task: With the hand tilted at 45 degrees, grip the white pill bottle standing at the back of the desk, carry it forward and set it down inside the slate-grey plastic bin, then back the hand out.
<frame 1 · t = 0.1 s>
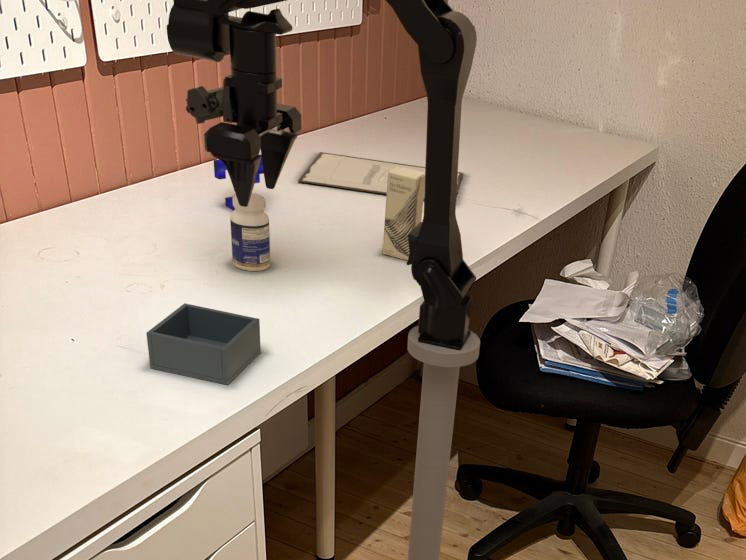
hand: (257, 197, 132), 13 cm above the table, tool pointing down, fingers open, 9 cm apart
pill bottle: (251, 266, 147), on the table
figurine: (242, 209, 166), on the table
picture frame: (384, 178, 189), on the table
box: (401, 255, 158), on the table
bin: (207, 360, 121), on the table
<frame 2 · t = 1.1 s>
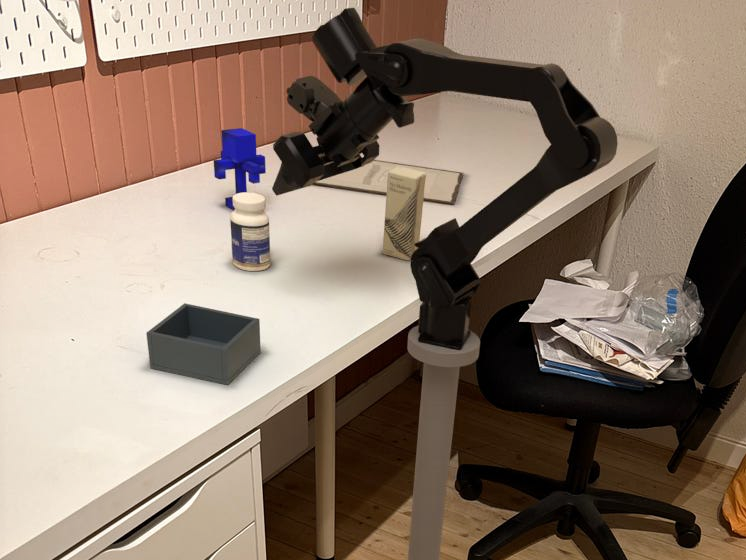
hand: (293, 185, 136), 13 cm above the table, tool tilted 45°, fingers open, 9 cm apart
nothing on the table moved.
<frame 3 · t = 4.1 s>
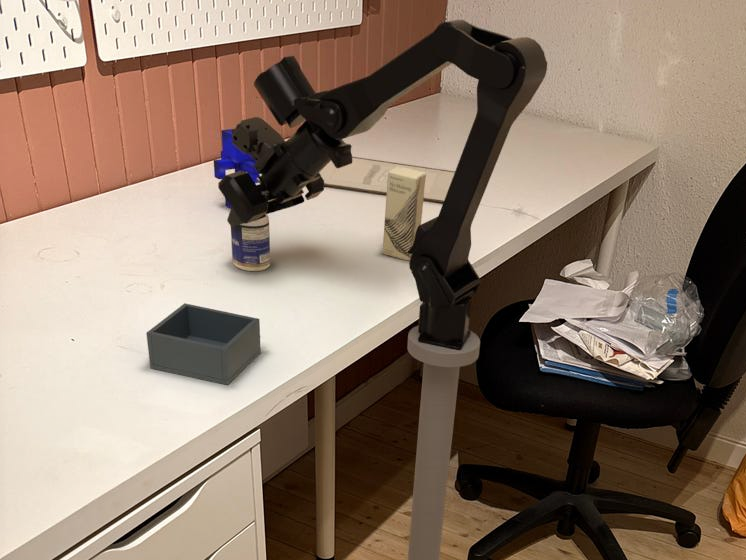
hand: (242, 218, 143), 7 cm above the table, tool tilted 45°, fingers closed on pill bottle, 6 cm apart
pill bottle: (251, 266, 147), on the table, touching gripper
everything else where it was.
when the fingers open (7 cm above the table, at t = 13.2 s): pill bottle stays where it is, resting on bin.
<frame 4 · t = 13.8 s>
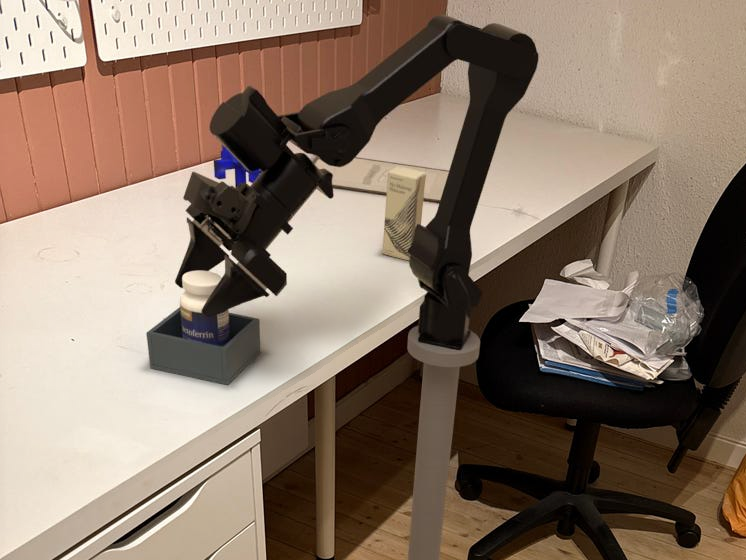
hand: (190, 299, 115), 8 cm above the table, tool tilted 45°, fingers open, 9 cm apart
pill bottle: (207, 357, 121), resting on bin
everything else where it was.
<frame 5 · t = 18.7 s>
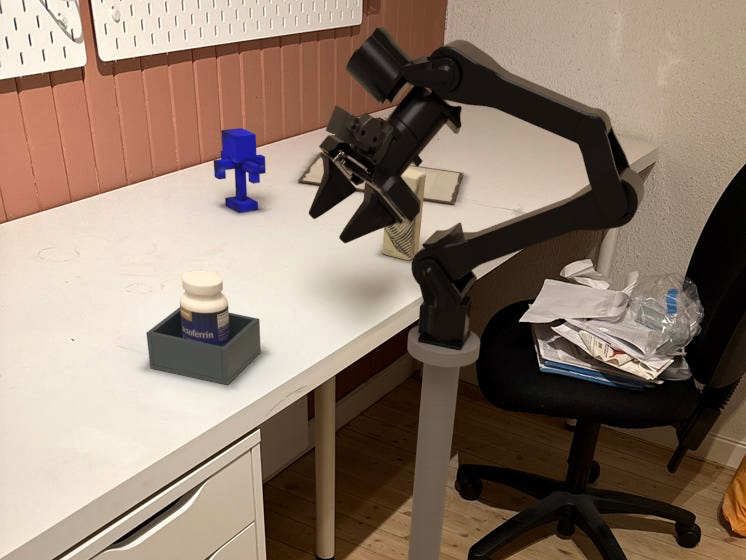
hand: (326, 228, 123), 14 cm above the table, tool tilted 45°, fingers open, 9 cm apart
nothing on the table moved.
at the end: pill bottle inside the target area in the bin (0.1 cm from its centre), point 0.4 cm above the bin's base; the gripper is holding nothing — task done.
